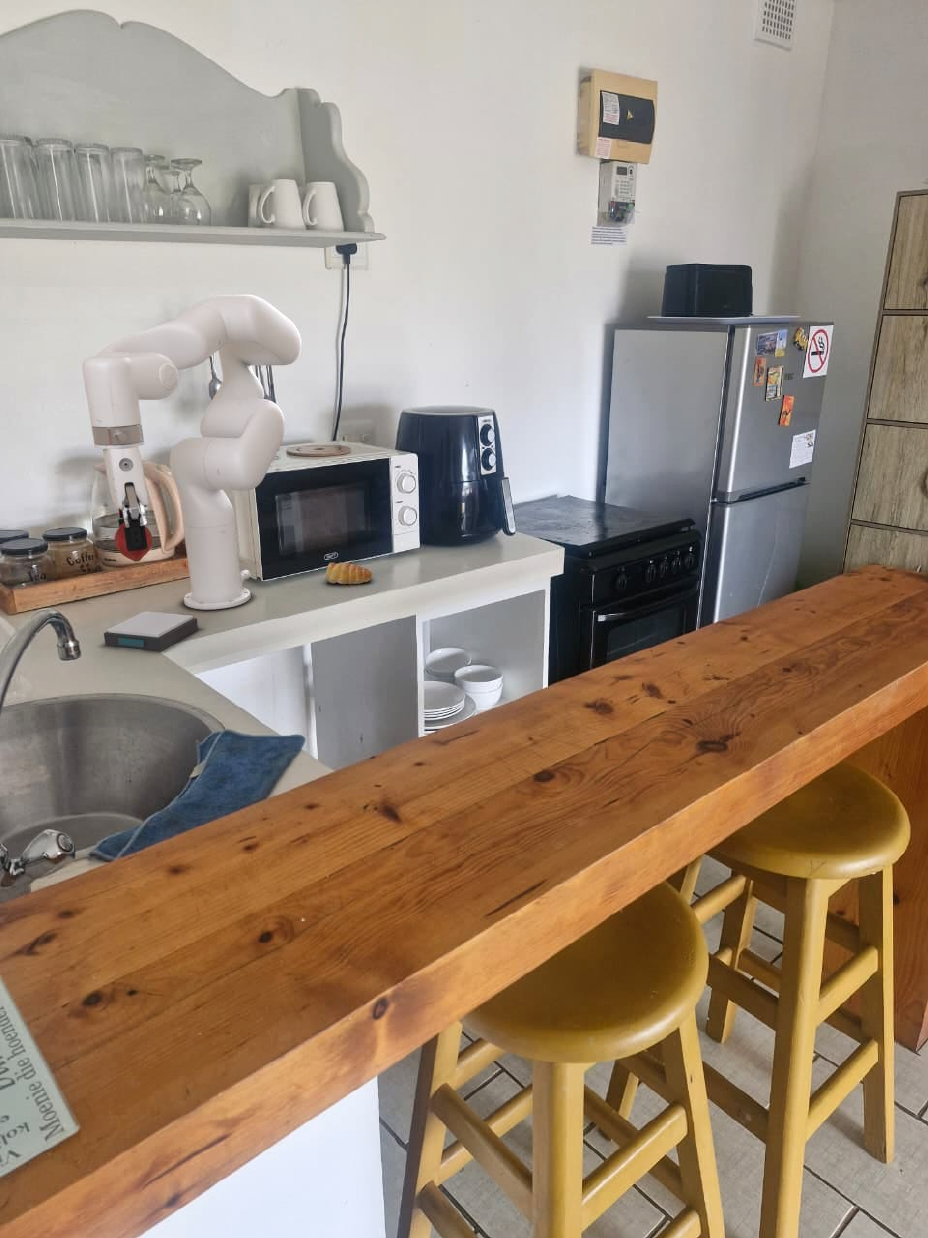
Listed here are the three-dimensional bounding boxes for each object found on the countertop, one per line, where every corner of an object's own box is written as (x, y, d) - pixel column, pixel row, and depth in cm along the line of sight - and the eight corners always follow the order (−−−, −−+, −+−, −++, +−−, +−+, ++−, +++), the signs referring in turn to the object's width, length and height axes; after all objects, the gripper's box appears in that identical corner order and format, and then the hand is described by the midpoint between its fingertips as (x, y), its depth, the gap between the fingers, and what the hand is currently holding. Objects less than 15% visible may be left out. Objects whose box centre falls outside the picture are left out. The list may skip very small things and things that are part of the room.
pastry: (375, 577, 184) (374, 559, 183) (368, 586, 178) (367, 568, 177) (331, 576, 186) (330, 558, 184) (323, 585, 179) (322, 567, 178)
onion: (142, 567, 143) (135, 519, 140) (111, 565, 144) (103, 518, 141) (161, 557, 148) (155, 511, 145) (131, 556, 149) (124, 510, 146)
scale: (145, 624, 157) (143, 610, 156) (198, 629, 154) (196, 614, 153) (104, 646, 147) (101, 630, 146) (160, 652, 144) (157, 636, 143)
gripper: (151, 440, 133) (166, 554, 139) (135, 429, 148) (149, 532, 154) (99, 444, 130) (117, 560, 136) (87, 432, 145) (104, 537, 151)
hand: (134, 544), depth 145 cm, fingers closed on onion, 5 cm apart
